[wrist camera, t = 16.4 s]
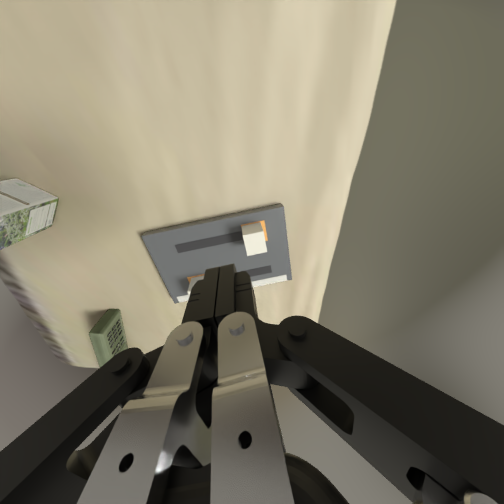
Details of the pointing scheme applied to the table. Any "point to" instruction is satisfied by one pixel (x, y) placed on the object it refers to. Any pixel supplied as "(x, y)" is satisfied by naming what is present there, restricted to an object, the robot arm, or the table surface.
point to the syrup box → (23, 211)
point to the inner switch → (254, 239)
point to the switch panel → (220, 249)
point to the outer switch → (193, 281)
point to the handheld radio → (108, 336)
